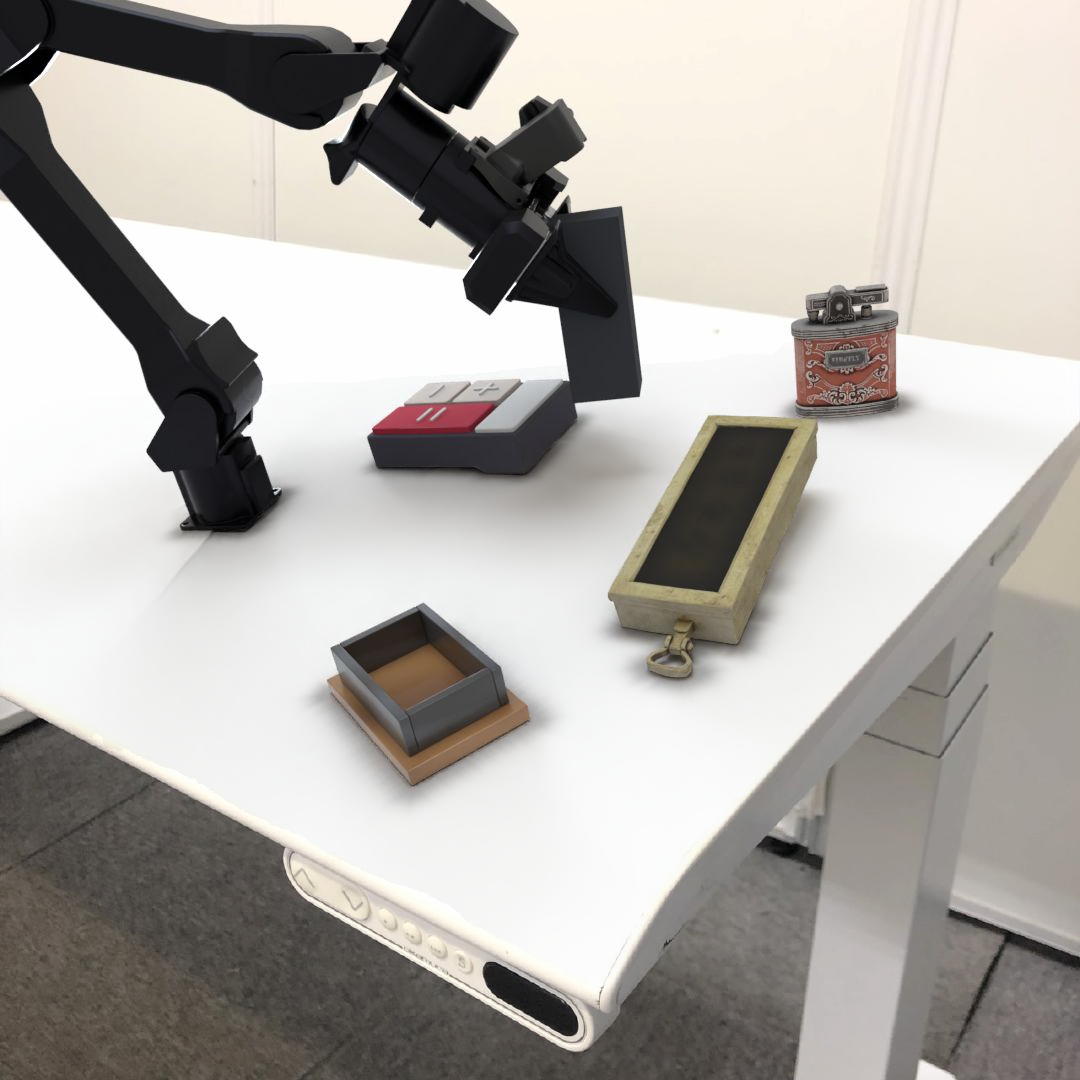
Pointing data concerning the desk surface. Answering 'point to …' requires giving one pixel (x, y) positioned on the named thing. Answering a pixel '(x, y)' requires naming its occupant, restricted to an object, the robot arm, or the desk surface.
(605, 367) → the back pad
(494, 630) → the desk surface
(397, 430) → the calculator
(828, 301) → the lighter
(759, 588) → the box
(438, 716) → the grey tray
